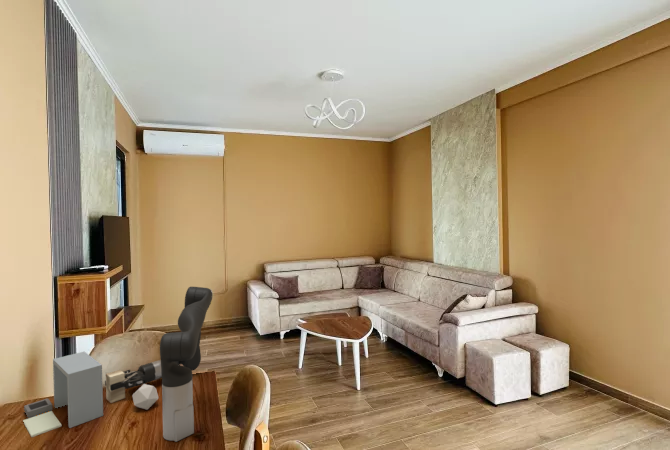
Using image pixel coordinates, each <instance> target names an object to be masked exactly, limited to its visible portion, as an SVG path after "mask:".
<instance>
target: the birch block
mask: <svg viewBox="0 0 670 450" xmlns="http://www.w3.org/2000/svg"><path fill="white" fill-rule="evenodd" d="M124 380H126V378H125V375H124V371H123V370H121V369H117V370H114V371H111V372H107V373H105V381H106V386H105V390H106V392H105V394H106V396H105V397H106V398H105V399H106V400H107V401H108V402H109V403H110V404H112V403H115V402H118V401H121V400H123V399H126V389H125V388H119V389H116V390H113V391H111V390H110V385H112V384H115V383H118V382H121V383H122V381H124Z"/></svg>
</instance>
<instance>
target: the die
mask: <svg viewBox="0 0 670 450" xmlns="http://www.w3.org/2000/svg"><path fill="white" fill-rule="evenodd" d="M158 394H159V393H158V391H157V388H156V387H155V386H154V385H150V384H147V383H145V384H142V385H140V387H139V388H138V389H137V390H136V391H135V392H133V394H132V401H133V405H134V406H135V407H136V408H138V409H143V410H146V411H147V410H149V409H150V407H152V406H153V405H154V404H155V403H156V402H157V401H158V399H159V395H158Z"/></svg>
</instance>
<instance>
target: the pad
mask: <svg viewBox="0 0 670 450" xmlns="http://www.w3.org/2000/svg"><path fill="white" fill-rule="evenodd" d="M22 422H24V423H23V424H24V426H25V428H26V430H27V432H28V434H29V435H30V437H31V438H34V437H36V436H38V435H42V434H44V433H47V432H50V431H52V430H56V429H58V428H61V427H62V423H61V422H60V421H59V419H58V418H57V417H56V415H55V414H54V412H53V411H49V412H46V413H43V414H40V415H37V416H34V417H31V418H26V419H23V420H22Z"/></svg>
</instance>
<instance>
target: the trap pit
mask: <svg viewBox="0 0 670 450" xmlns="http://www.w3.org/2000/svg"><path fill="white" fill-rule="evenodd" d="M53 408H54V407H53V403H52V402H51V400H50V399H49V398H48V397H47V398H45V399H42V400H38V401H35V402H31V403H28V404H26V405H23V411H25V413H26V415H27V416H26V415H25V416H26V418H27V417H28V418H31V417H34V416H36V415H39V414H42V413H45V412H48V411H52V410H53ZM52 412H53V411H52ZM25 413H24V414H25ZM28 418H27V419H28Z"/></svg>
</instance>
